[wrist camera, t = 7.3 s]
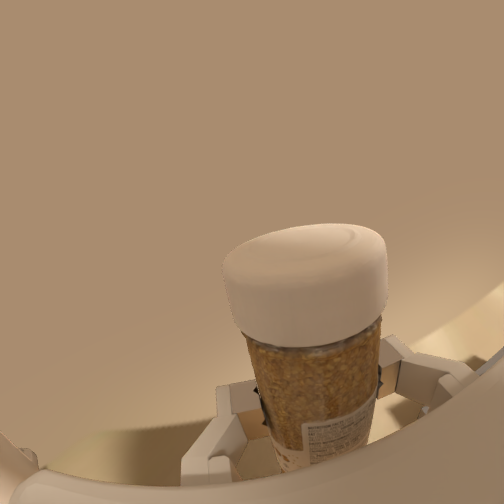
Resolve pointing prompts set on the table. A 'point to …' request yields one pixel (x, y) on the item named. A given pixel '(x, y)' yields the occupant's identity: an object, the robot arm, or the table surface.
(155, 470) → the table surface
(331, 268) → the sprinkles bottle
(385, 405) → the table surface
